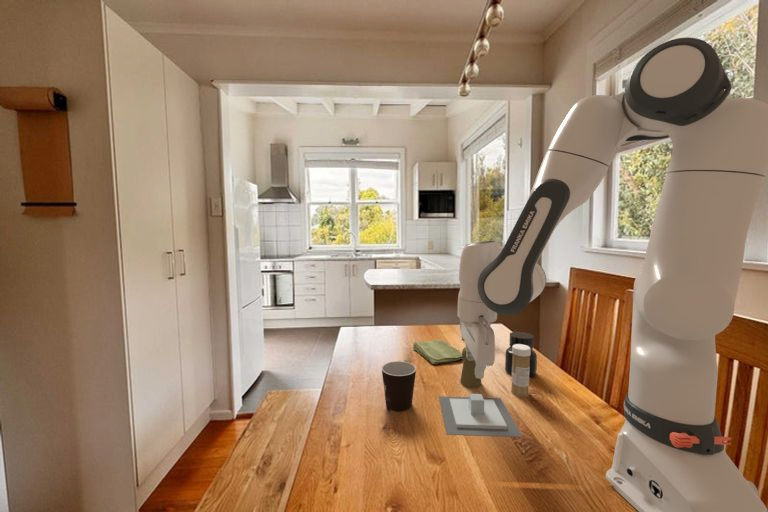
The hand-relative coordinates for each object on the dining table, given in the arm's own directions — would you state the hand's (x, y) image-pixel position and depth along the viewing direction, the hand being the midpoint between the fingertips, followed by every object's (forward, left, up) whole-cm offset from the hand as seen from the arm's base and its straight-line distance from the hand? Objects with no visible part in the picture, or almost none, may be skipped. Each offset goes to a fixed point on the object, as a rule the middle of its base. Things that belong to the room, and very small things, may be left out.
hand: (474, 367), depth 77 cm
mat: (0, -1, -12) cm, 12 cm away
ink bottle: (+25, -20, -12) cm, 34 cm away
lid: (0, -1, -11) cm, 11 cm away
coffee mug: (+5, +17, -12) cm, 22 cm away
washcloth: (+39, +5, -13) cm, 41 cm away
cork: (+16, -3, -12) cm, 20 cm away
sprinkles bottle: (+11, -15, -12) cm, 22 cm away
